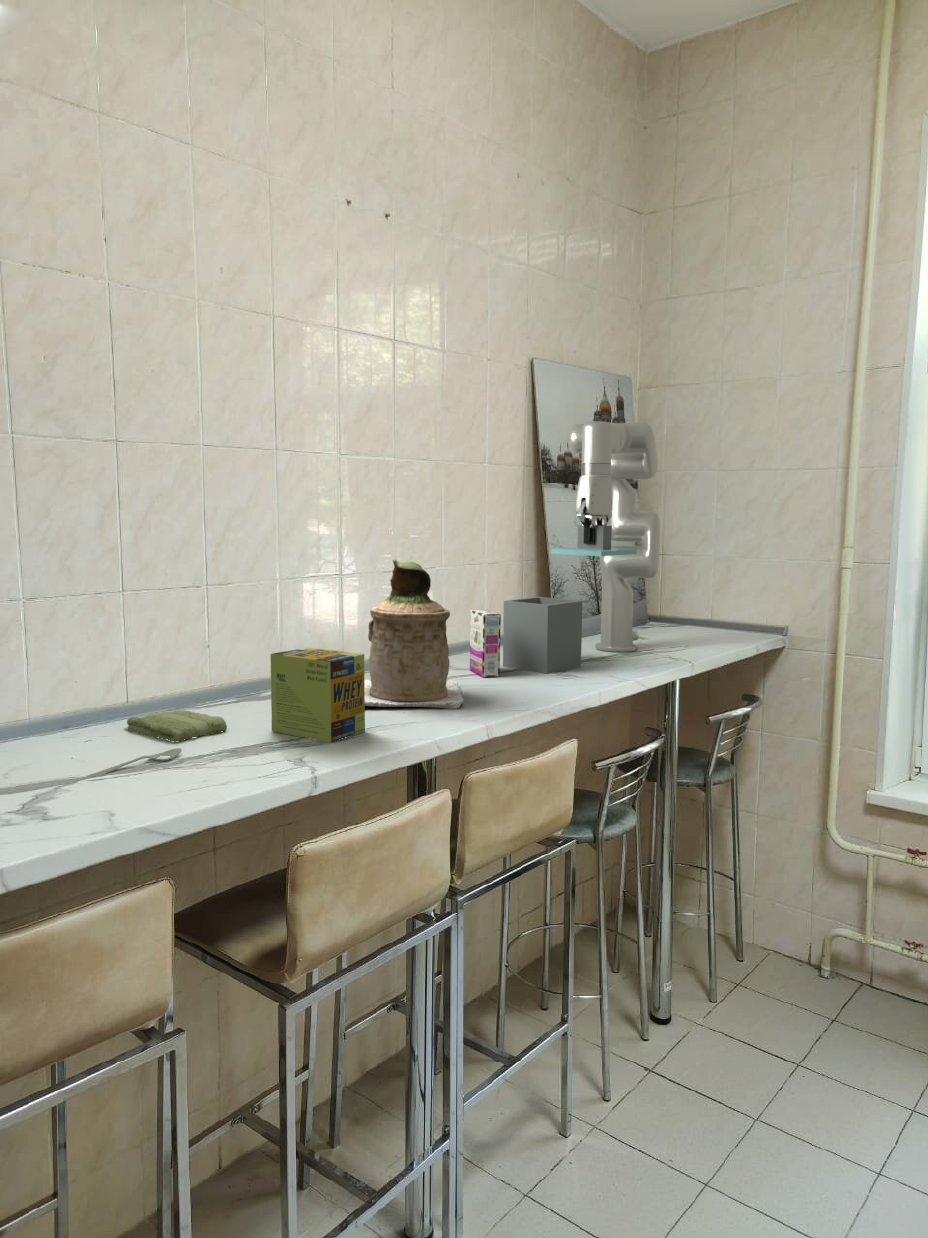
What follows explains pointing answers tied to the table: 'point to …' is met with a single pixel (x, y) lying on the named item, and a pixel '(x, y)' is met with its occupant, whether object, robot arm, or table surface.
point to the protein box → (318, 693)
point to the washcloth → (176, 725)
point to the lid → (600, 546)
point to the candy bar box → (485, 643)
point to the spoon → (170, 753)
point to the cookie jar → (410, 646)
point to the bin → (542, 634)
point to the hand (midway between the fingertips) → (594, 542)
